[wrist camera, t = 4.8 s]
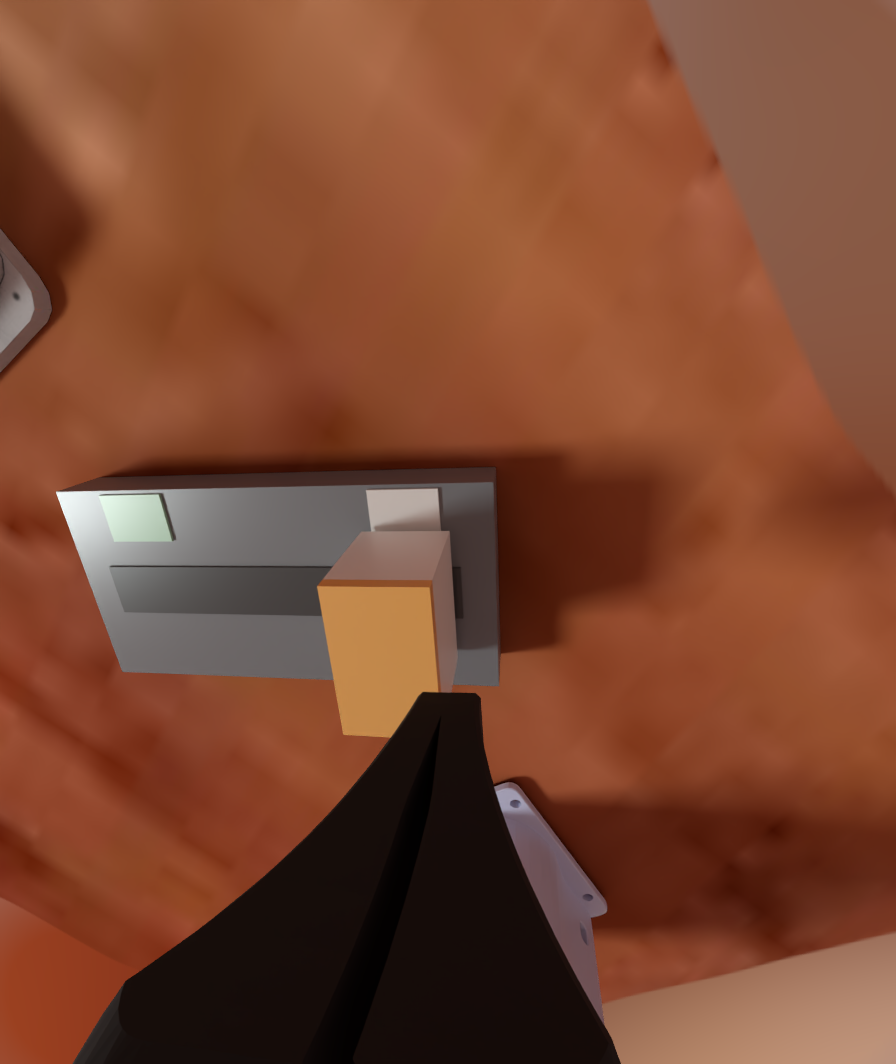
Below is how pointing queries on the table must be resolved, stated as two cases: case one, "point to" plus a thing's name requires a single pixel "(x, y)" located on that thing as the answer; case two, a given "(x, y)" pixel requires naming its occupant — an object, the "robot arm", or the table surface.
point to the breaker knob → (389, 626)
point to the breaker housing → (270, 563)
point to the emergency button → (19, 302)
